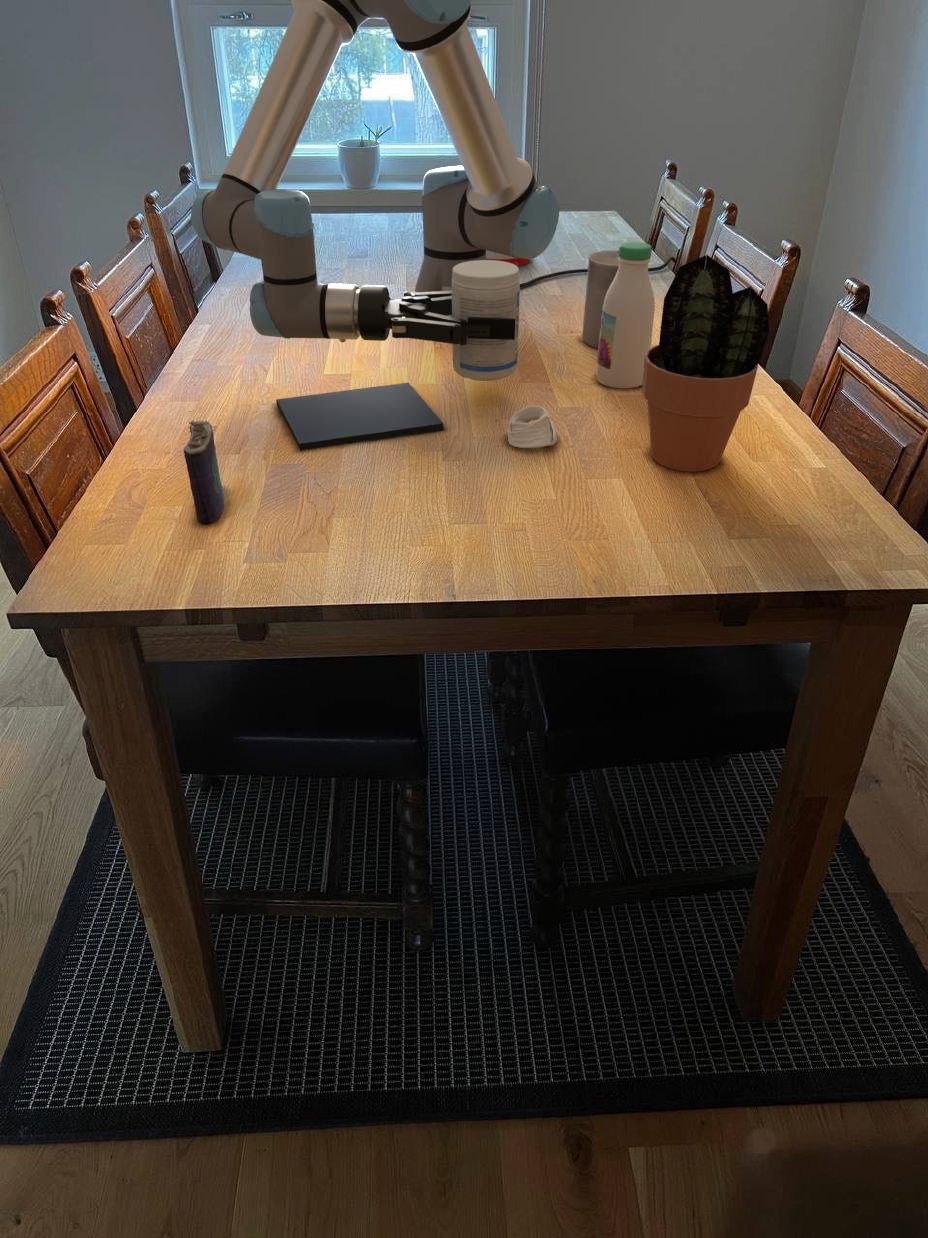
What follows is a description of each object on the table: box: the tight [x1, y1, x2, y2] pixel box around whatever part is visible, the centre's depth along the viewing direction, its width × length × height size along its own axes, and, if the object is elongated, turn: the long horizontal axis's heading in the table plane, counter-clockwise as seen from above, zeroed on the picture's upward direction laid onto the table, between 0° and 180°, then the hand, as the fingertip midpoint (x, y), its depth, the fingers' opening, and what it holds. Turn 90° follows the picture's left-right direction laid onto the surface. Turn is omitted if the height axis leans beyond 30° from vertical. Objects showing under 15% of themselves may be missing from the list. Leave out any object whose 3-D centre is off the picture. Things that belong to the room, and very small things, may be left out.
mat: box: [275, 382, 444, 452], centre depth 129 cm, size 20×16×1 cm
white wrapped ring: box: [507, 405, 558, 449], centre depth 122 cm, size 8×7×5 cm
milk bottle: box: [595, 241, 656, 389], centre depth 136 cm, size 8×8×20 cm
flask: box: [183, 419, 225, 526], centre depth 104 cm, size 9×3×11 cm, turn 8°
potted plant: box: [641, 254, 770, 473], centre depth 112 cm, size 14×14×25 cm
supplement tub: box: [451, 260, 521, 382], centre depth 130 cm, size 10×10×15 cm
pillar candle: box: [581, 249, 619, 349], centre depth 152 cm, size 10×10×15 cm
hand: (516, 317), depth 130 cm, fingers closed on supplement tub, 9 cm apart
